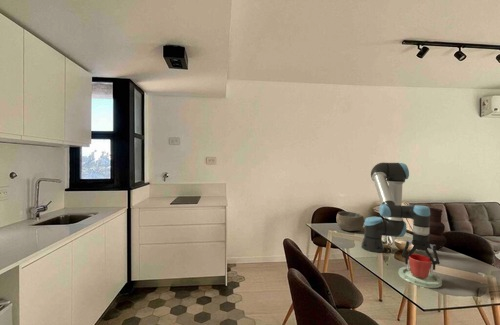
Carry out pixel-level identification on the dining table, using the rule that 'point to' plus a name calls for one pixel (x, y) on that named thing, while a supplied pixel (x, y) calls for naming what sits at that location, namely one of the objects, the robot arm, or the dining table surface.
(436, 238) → the vase
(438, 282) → the round tray
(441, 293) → the dining table surface
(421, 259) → the flower pot
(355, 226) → the bowl
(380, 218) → the robot arm
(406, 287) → the dining table surface
